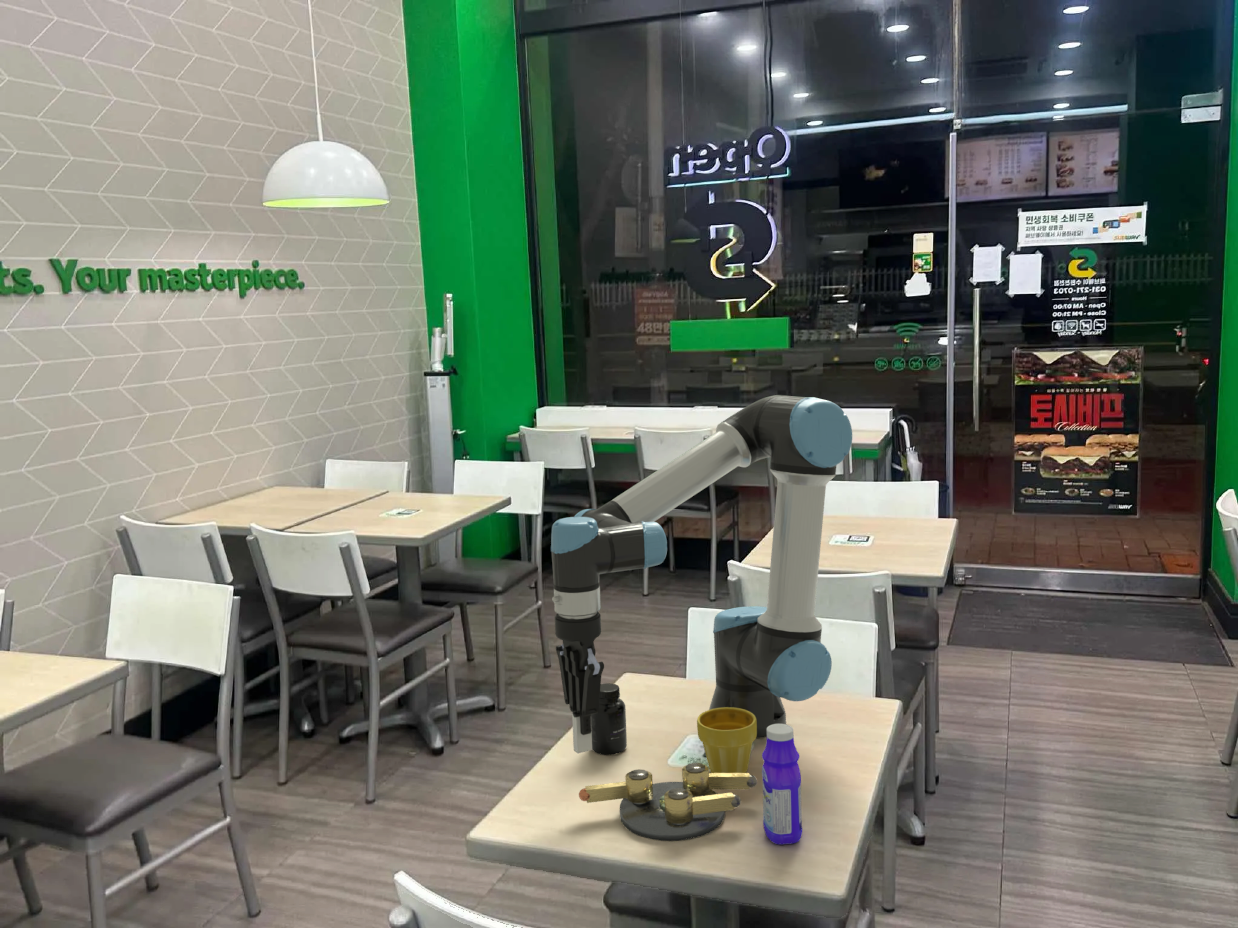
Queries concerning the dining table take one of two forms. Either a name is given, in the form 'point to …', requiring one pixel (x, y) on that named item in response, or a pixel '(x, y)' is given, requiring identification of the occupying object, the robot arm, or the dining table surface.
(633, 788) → the knob
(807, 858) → the dining table surface
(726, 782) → the knob left
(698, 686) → the dining table surface
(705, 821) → the tribrach plate
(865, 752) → the dining table surface
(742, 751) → the plant pot
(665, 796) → the knob
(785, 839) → the bottle
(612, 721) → the supplement bottle
